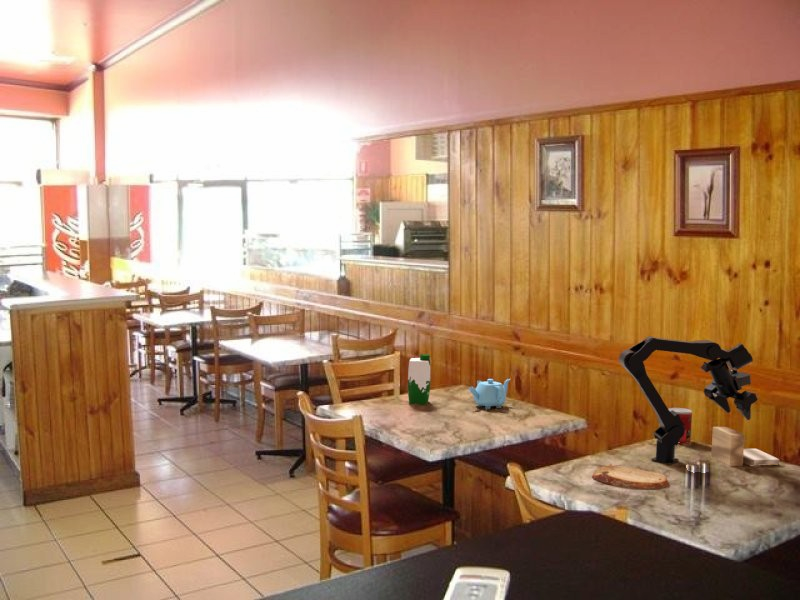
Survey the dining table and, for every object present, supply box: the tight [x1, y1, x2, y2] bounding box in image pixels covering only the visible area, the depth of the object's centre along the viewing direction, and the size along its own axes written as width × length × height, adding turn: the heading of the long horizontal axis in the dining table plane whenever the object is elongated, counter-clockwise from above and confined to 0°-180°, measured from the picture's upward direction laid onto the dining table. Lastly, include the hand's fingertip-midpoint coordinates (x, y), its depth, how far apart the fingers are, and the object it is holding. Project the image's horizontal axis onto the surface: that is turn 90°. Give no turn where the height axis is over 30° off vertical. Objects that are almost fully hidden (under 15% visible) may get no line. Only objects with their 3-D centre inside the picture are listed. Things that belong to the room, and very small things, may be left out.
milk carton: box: [407, 353, 431, 405], centre depth 355 cm, size 9×9×20 cm
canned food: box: [668, 407, 693, 444], centre depth 302 cm, size 8×8×11 cm
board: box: [743, 448, 780, 466], centre depth 279 cm, size 10×13×2 cm
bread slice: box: [591, 464, 670, 490], centre depth 254 cm, size 18×18×4 cm
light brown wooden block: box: [710, 426, 745, 467], centre depth 277 cm, size 4×11×10 cm, turn 10°
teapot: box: [468, 378, 511, 410], centre depth 351 cm, size 15×14×11 cm
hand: (738, 415), depth 279 cm, fingers open, 9 cm apart
